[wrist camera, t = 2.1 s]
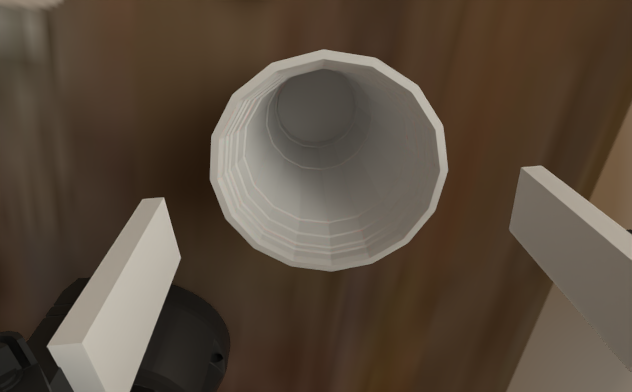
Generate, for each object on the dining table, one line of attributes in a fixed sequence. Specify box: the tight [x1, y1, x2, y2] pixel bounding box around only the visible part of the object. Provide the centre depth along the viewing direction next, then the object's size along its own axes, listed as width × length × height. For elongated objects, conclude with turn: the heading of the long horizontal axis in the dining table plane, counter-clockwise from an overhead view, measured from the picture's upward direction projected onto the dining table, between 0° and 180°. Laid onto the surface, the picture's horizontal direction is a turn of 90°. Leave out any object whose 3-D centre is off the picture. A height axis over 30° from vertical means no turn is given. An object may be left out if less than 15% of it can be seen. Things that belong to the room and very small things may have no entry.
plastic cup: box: [210, 50, 448, 271], centre depth 23 cm, size 11×11×12 cm
